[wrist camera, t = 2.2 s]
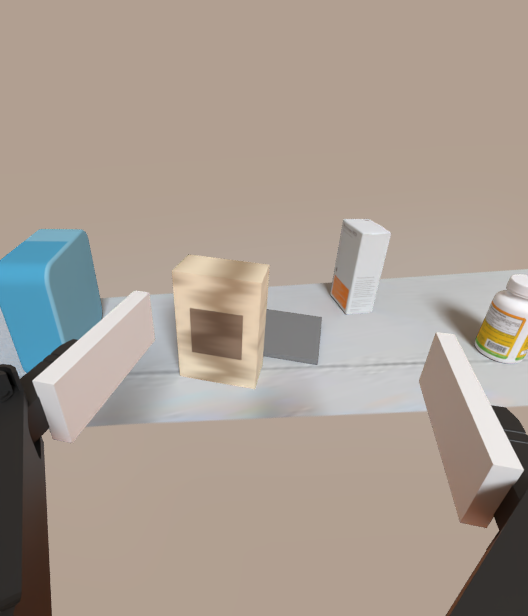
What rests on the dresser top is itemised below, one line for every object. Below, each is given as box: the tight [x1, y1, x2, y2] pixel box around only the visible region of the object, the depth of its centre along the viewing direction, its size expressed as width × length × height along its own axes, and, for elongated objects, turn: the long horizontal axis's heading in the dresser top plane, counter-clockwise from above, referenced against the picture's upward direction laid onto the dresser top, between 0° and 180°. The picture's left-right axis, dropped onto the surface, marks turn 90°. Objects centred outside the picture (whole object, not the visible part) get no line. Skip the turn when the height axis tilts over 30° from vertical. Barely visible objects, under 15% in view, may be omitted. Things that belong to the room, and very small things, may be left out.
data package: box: [0, 229, 102, 373], centre depth 38 cm, size 12×4×12 cm, turn 8°
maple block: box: [172, 254, 270, 389], centre depth 35 cm, size 8×4×12 cm, turn 79°
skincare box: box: [330, 219, 391, 315], centre depth 50 cm, size 6×4×12 cm
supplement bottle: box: [475, 274, 528, 364], centre depth 42 cm, size 5×5×10 cm
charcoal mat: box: [263, 309, 322, 365], centre depth 45 cm, size 16×10×1 cm, turn 79°
